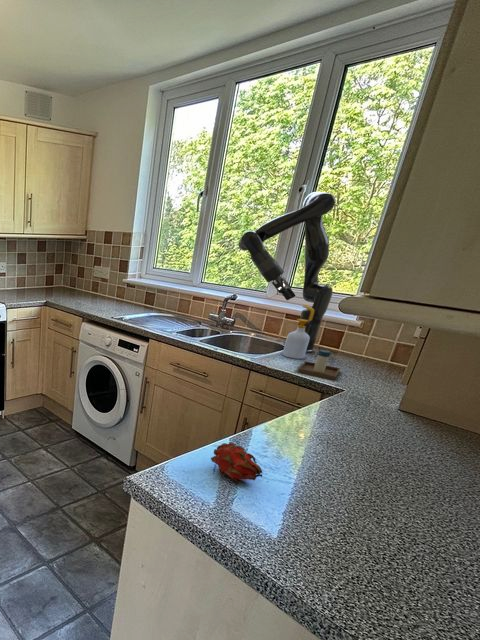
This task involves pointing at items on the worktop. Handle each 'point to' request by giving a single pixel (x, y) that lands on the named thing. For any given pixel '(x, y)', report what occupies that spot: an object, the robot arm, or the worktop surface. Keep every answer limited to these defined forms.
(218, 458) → the dragon fruit
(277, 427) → the worktop surface
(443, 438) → the worktop surface
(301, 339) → the soap bottle
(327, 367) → the tray
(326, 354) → the shaving stick
